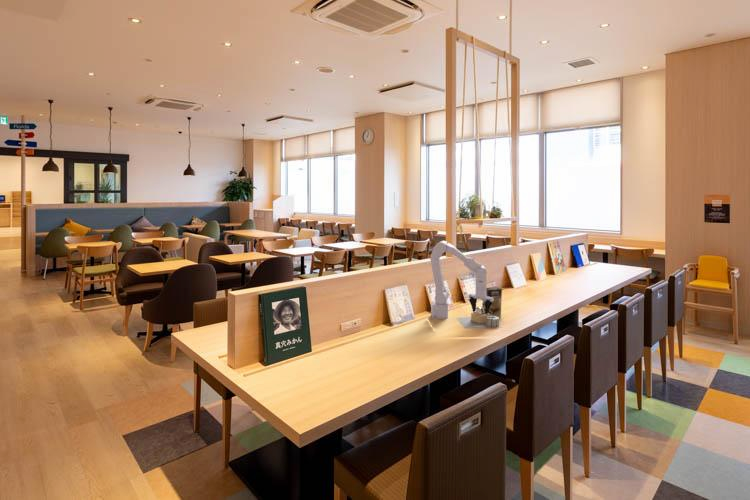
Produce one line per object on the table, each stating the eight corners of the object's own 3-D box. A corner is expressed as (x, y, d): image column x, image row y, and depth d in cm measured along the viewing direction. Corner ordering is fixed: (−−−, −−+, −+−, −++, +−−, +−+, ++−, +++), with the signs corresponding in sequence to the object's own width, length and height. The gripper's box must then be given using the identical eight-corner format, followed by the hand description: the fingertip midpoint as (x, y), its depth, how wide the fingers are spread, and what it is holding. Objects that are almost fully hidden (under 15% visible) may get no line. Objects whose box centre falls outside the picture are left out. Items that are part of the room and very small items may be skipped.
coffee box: (487, 317, 258) (487, 290, 256) (481, 314, 265) (482, 287, 262) (501, 316, 261) (502, 289, 259) (495, 313, 267) (496, 286, 265)
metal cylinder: (477, 321, 248) (477, 308, 247) (475, 319, 252) (475, 306, 251) (484, 321, 248) (484, 308, 247) (482, 319, 252) (482, 306, 251)
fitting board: (464, 330, 236) (464, 320, 235) (456, 319, 256) (456, 310, 255) (502, 329, 237) (502, 319, 236) (491, 318, 257) (491, 309, 256)
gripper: (465, 287, 250) (465, 311, 252) (489, 291, 240) (488, 316, 242) (472, 285, 255) (471, 309, 257) (495, 289, 245) (495, 313, 247)
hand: (480, 312), depth 250 cm, fingers open, 7 cm apart
